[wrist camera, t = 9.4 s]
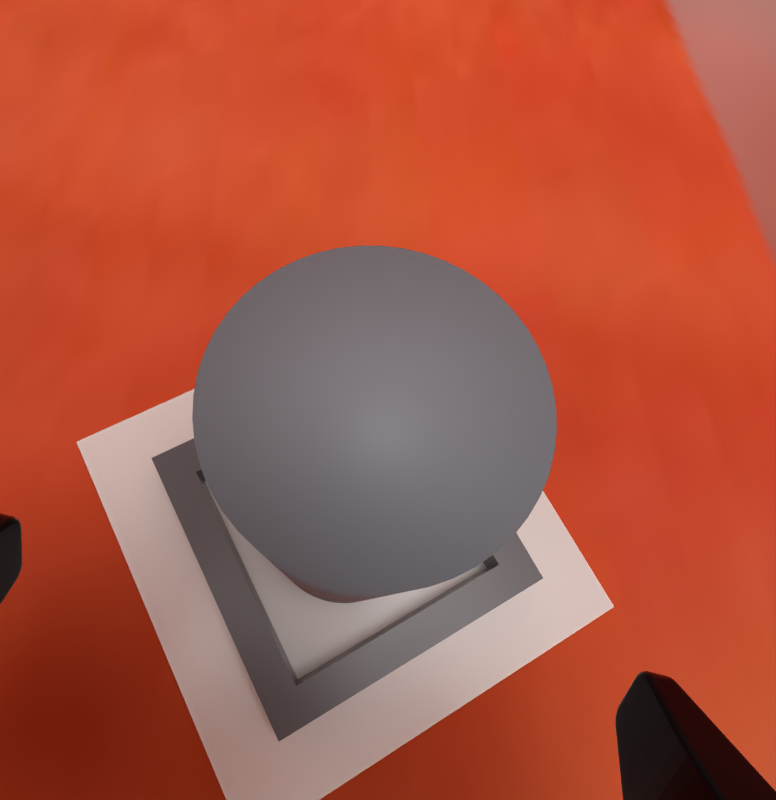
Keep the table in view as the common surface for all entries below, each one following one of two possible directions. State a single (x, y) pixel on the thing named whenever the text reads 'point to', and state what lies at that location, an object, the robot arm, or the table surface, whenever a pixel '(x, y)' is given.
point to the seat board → (316, 623)
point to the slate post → (373, 421)
